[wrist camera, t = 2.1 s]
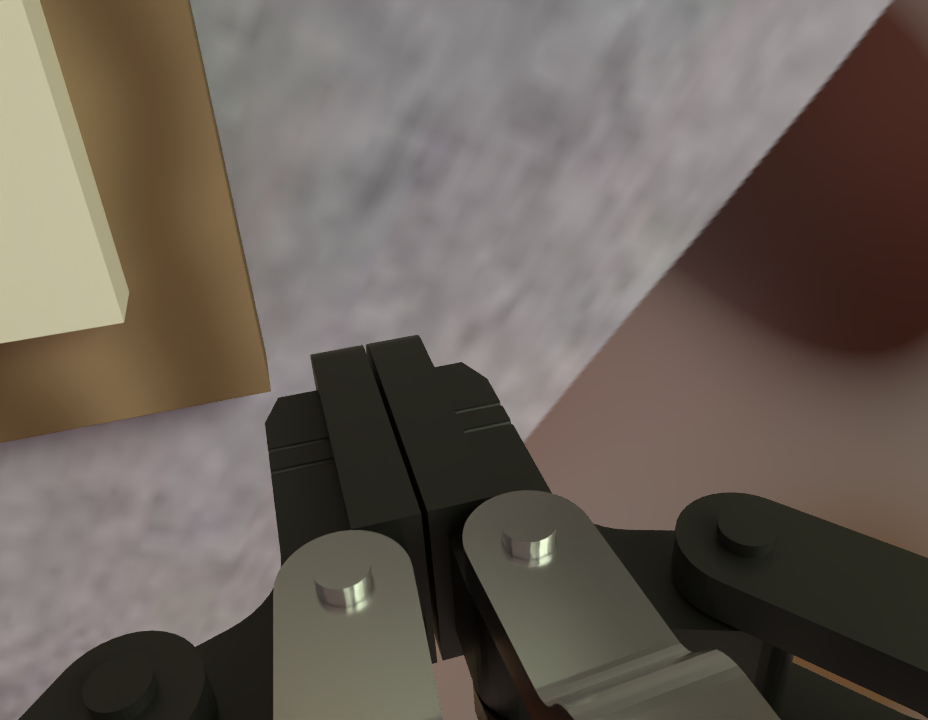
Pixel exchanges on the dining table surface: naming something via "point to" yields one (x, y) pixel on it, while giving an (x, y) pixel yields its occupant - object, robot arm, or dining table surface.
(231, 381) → the brown wooden board
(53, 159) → the tile
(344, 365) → the robot arm
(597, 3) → the dining table surface
